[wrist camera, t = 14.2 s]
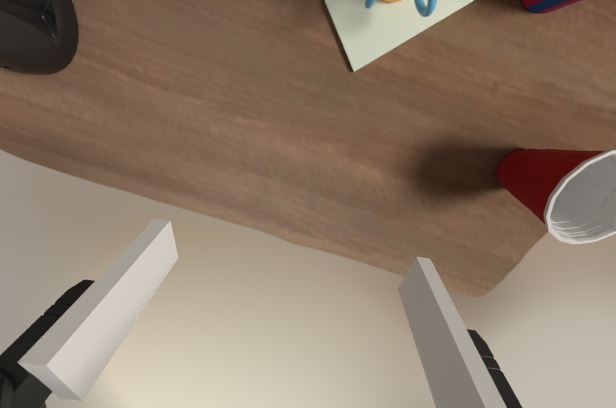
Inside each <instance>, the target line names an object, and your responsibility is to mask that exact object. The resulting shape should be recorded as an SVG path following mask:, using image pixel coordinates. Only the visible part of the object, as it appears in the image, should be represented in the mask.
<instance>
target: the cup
mask: <svg viewBox="0 0 616 408" xmlns="http://www.w3.org/2000/svg"><path fill="white" fill-rule="evenodd" d="M578 1H581V0H522V2H523V4H524V6H525V7H526V8H527V9H528V10H530V11H532V12H534V13H547V12H551V11H554V10H556V9H559V8H562V7H565V6H567V5H570V4H573V3H576V2H578Z"/></svg>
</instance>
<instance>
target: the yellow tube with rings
mask: <svg viewBox="0 0 616 408" xmlns="http://www.w3.org/2000/svg"><path fill="white" fill-rule="evenodd" d="M375 1H376V0H366V1H365V7H366V8H367V9H370V8H371V7H372V6H373V4H374V3H375ZM383 1H385V2H398V1H401V0H383ZM414 3H415V6H416V9H417V11H418V13H419V14H420V15H421V16H423V17H428V16H429V15H431V14H432V13H433V11H434V9H435V7H436V4H437V0H428V3H427V6H426V5H425V3H424V0H414Z"/></svg>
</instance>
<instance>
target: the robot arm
mask: <svg viewBox="0 0 616 408" xmlns="http://www.w3.org/2000/svg"><path fill="white" fill-rule="evenodd" d="M77 44H78V23H77V18H76V13H75V10H74V6H73V3H72V0H0V66H1V67H3V68H6V69H9V70H12V71H16V72H21V73H31V74H52V73H56V72H59V71H61V70H62V69H64V68H65V67H66V66H67V65H68V64H69V63H70V62H71V60H72V59H73V57H74V55H75V52H76V49H77ZM177 259H178V255H177V250H176V245H175V240H174V236H173V231H172V226H171V222H170V220H163V219H156V218H155V219H154V220H153V221H152V222H151V223H150V224H149V225H148V226H147V227H146V229H144V230H143V231H142V232H141V234H140V235H139V236H138V237H137V238H136V239H135V240H134V241H133V242H132V243H131V244H130V245H129V246H128V247H127V248H126V249H125V250H124V251H123V252H122V253H121V254H120V256H119V257H118V258H117V259H116V260H115V261H114V262H113V263H112V264H111V265H110V266H109V267H108V268H107V269H106V270H105V271H104V272H103V273H102V275H101V276H99V278H98V279H97V280H96V281H91V280H83V281H81V282H80V283H78V284H77V285H75V286H73V287H72V288H70V289H69V290H67V291H66V292H65V293H64V294H63V295H62V296H61V297H60V298H59V299H58V300H57V301H56V302H55V304H54V305H52V306H51V307H50V308H49V309H48V310H47V311H46V312H45V313H44V315H43V316H40V318H38V319H37V320H36V321H35V322H34V323H33V324H32V325H31V326H30V327H29V328H28V329H27V330H26V331H25V332H24V333H23V334H22V335H21V336H20V337H19V338H18V339H17V340H16V341H15V342H14V343H13V344H12V345H11V346H10V347H8V348H7V349H6V350H5V351H4V352H3V353H2V354H1V355H0V408H46V404H45V400H46V399H47V398H48V396H49V395H50V394H51V393H52V392H53V393H54V394H55V395H56V396H57V397H59V398H62V399H71V400H82V401H83V399H84V398H85V396H86V395H87V393H88V392H89V390H90V389H91V387H92V386H93V384H94V383H95V381H96V380H97V378H98V377H99V375H100V374H101V372H102V371H103V369H104V368H105V366H106V365H107V363H108V362H109V360H110V359H111V357H112V356H113V354H114V353H115V351H116V350H117V348H118V347H119V345H120V344H121V342H122V341H123V339H124V338H125V336H126V335H127V333H128V332H129V330H130V329H131V327H132V326H133V325H134V323H135V321H136V320H137V318H138V317H139V315H140V314H141V313H142V311H143V310H144V308H145V307H146V305H147V303H148V302H149V301H150V299H151V298H152V296H153V294H154V293H155V292H156V290H157V289H158V287H159V286H160V284H161V283H162V281H163V280H164V278H165V276H166V275H167V274H168V272H169V271H170V269H171V268H172V266H173V265H174V263H175V262H176V260H177ZM398 290H399V293H400V297H401V300H402V303H403V305H404V309H405V312H406V315H407V318H408V321H409V325H410V328H411V331H412V334H413V337H414V340H415V343H416V346H417V349H418V353H419V356H420V359H421V362H422V365H423V368H424V371H425V374H426V377H427V380H428V384H429V387H430V390H431V393H432V396H433V400H434V403H435V406H436V408H522V406H521V405H520V403H519V401H518V399H517V397H516V396H515V394H514V392H513V390H512V389H511V387H510V385H509V383H508V381H507V379H506V378H505V376H504V374H503V372H501V371H500V367H499V365H498V363H497V362H496V360H494V356H493V354H492V353H491V351H490V349H489V347H488V346H487V344H486V342H485V341H484V340H483V339H482V338H481V337H480V335H479V334H478V333H477V332H476V331H475V330H468V329H466V328H465V326H464V324H463V322H462V320H461V318H460V316H459V314H458V312H457V310H456V308H455V306H454V304H453V302H452V300H451V298H450V296H449V295H448V293H447V291H446V289H445V287H444V285H443V283H442V281H441V279H440V277H439V275H438V273H437V271H436V269H435V267H434V265H433V263H432V262H431V260H430V259H428V258H421V257H416V258H415V260H414V262H413V264H412V265H411V267H410V269H409V270H408V272H407V274H406V275H405V277H404V279H403V280H402V282H401V284H400V286H399V287H398Z"/></svg>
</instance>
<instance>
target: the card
mask: <svg viewBox="0 0 616 408" xmlns="http://www.w3.org/2000/svg"><path fill="white" fill-rule="evenodd" d="M324 1H325V4H326V6H327V9H328V11H329V13H330V16H331V18H332V21H333V23H334V26H335V28H336V30H337V33H338V35H339V38H340V40H341V43H342V45H343V47H344V50H345V52H346V55H347V57H348V60H349V62H350V64H351V67H352V69H353V72H355V71H356V70H358V69H360V68H361V67H363V66H365V65H366V64H368V63H370V62H371V61H373V60H375V59H376V58H378V57H380V56H382V55H383V54H385V53H387V52H388V51H390V50H392V49H393V48H395V47H397V46H398V45H400V44H402V43H403V42H405V41H407V40H408V39H410V38H412V37H413V36H415V35H417V34H418V33H420V32H422V31H423V30H425V29H427V28H429V27H430V26H432V25H434V24H435V23H437V22H439V21H440V20H442V19H444V18H445V17H447V16H449V15H450V14H452V13H454V12H455V11H457V10H459V9H460V8H462V7H464V6H465V5H467V4H469V3H471V2H472V1H474V0H437V4H436V7H435V9H434V11H433V13H432V14H431V15H429V16H428V17H423V16H421V15H420V14H419V13H418V11H417V9H416V6H415V3H414V0H401V1H398V2H385V1H383V0H376V1H375V3H374V4H373V6H372V7H371V8H370V9H367V8H366V7H365V1H366V0H324ZM424 3H425V5H426V6H427V3H428V0H424Z"/></svg>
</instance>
